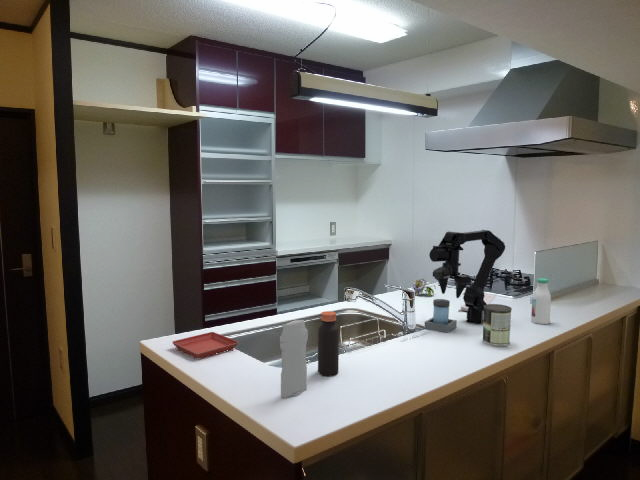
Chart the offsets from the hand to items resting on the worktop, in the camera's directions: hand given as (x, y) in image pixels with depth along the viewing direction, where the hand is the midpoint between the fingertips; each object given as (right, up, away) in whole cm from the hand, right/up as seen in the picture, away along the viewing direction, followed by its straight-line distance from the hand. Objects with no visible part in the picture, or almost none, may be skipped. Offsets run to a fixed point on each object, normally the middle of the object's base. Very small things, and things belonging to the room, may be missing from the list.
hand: (450, 295), depth 212 cm
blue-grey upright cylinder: (-5, -14, -2) cm, 15 cm away
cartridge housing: (-5, -14, -2) cm, 15 cm away
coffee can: (+12, -16, -21) cm, 29 cm away
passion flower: (+1, -7, +62) cm, 63 cm away
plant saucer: (-100, -17, -31) cm, 106 cm away
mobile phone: (+22, -11, +31) cm, 40 cm away
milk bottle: (+43, -13, +8) cm, 46 cm away
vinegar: (-55, -19, -53) cm, 79 cm away
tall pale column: (-65, -21, -69) cm, 97 cm away
